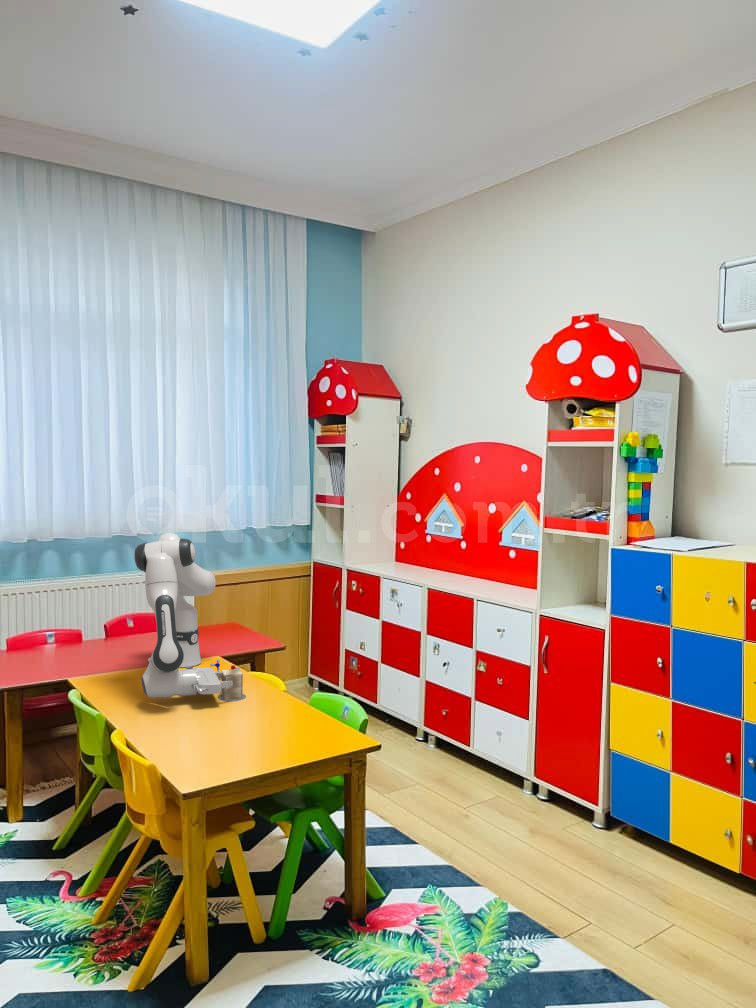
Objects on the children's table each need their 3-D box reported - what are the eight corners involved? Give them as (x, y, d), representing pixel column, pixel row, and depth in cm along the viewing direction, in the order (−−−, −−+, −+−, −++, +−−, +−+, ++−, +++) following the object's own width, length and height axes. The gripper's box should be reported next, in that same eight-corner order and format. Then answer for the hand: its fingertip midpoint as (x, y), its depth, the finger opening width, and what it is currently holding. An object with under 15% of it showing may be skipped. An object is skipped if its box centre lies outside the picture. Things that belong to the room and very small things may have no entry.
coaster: (211, 699, 277) (211, 698, 277) (230, 692, 285) (230, 690, 285) (233, 704, 272) (233, 703, 272) (251, 697, 280) (251, 695, 280)
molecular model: (211, 679, 289) (213, 653, 294) (200, 686, 295) (202, 660, 300) (239, 684, 294) (241, 658, 299) (228, 691, 301) (230, 666, 306)
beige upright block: (224, 700, 274) (224, 675, 274) (221, 694, 280) (221, 670, 280) (242, 698, 277) (242, 673, 276) (239, 693, 283) (239, 668, 282)
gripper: (194, 682, 263) (235, 678, 268) (186, 665, 282) (225, 662, 287) (194, 700, 263) (235, 696, 268) (186, 683, 283) (225, 679, 287)
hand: (230, 679), depth 278 cm, fingers open, 8 cm apart
